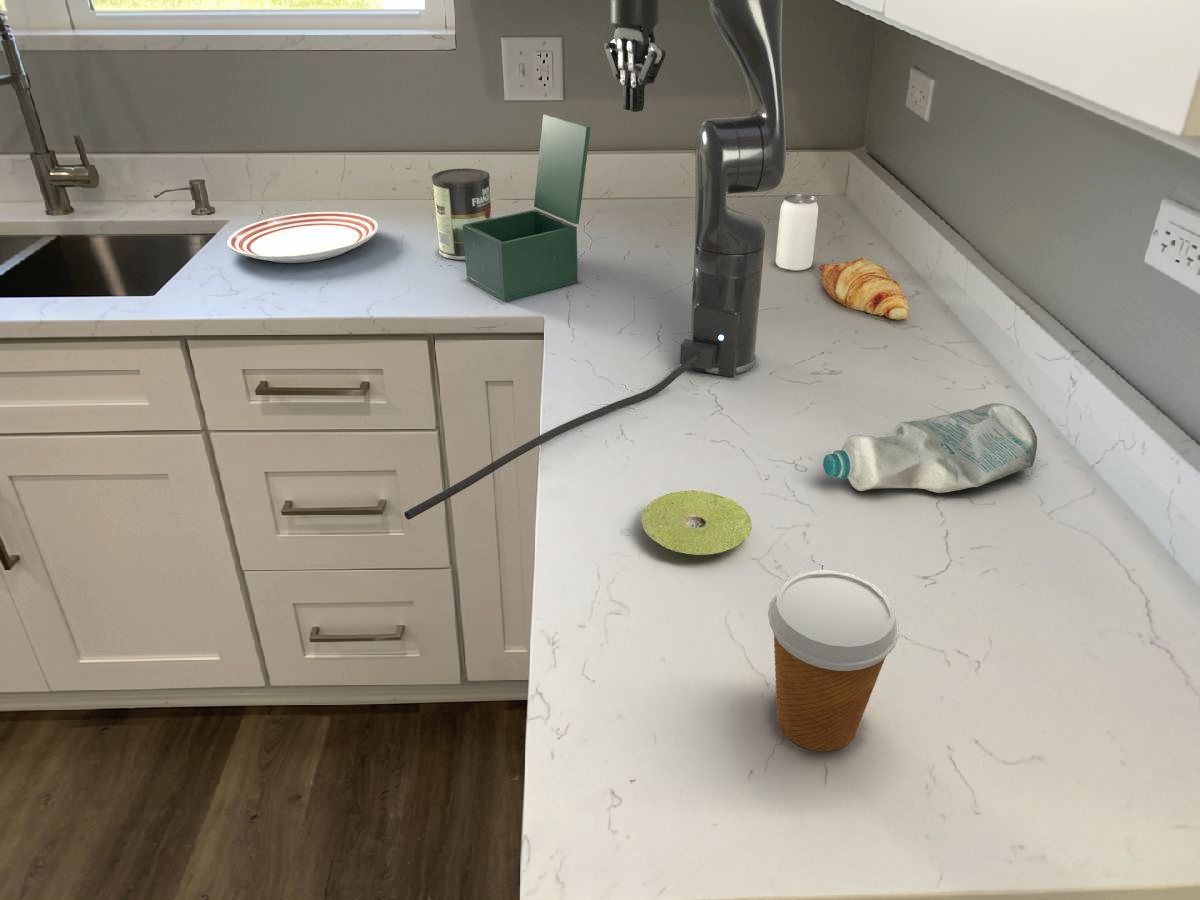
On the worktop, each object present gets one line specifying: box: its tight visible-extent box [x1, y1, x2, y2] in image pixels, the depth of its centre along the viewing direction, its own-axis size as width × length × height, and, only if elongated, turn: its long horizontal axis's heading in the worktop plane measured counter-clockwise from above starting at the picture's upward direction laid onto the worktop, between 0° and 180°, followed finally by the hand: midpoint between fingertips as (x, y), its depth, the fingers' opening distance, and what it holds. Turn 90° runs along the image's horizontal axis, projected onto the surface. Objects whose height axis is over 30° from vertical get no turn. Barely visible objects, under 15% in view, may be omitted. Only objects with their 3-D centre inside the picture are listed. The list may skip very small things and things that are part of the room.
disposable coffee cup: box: [767, 569, 900, 752], centre depth 71 cm, size 10×10×12 cm
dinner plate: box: [226, 211, 379, 264], centre depth 174 cm, size 28×27×3 cm
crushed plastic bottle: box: [822, 402, 1038, 494], centre depth 103 cm, size 13×7×25 cm
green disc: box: [641, 490, 752, 556], centre depth 95 cm, size 11×11×2 cm
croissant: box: [819, 257, 910, 320], centre depth 149 cm, size 21×10×8 cm, turn 26°
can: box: [775, 193, 819, 272], centre depth 162 cm, size 6×6×12 cm
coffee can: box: [431, 167, 493, 261], centre depth 169 cm, size 10×10×14 cm
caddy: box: [463, 209, 579, 303], centre depth 156 cm, size 15×13×10 cm
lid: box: [533, 113, 592, 225], centre depth 154 cm, size 15×13×1 cm
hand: (633, 109), depth 150 cm, fingers closed
